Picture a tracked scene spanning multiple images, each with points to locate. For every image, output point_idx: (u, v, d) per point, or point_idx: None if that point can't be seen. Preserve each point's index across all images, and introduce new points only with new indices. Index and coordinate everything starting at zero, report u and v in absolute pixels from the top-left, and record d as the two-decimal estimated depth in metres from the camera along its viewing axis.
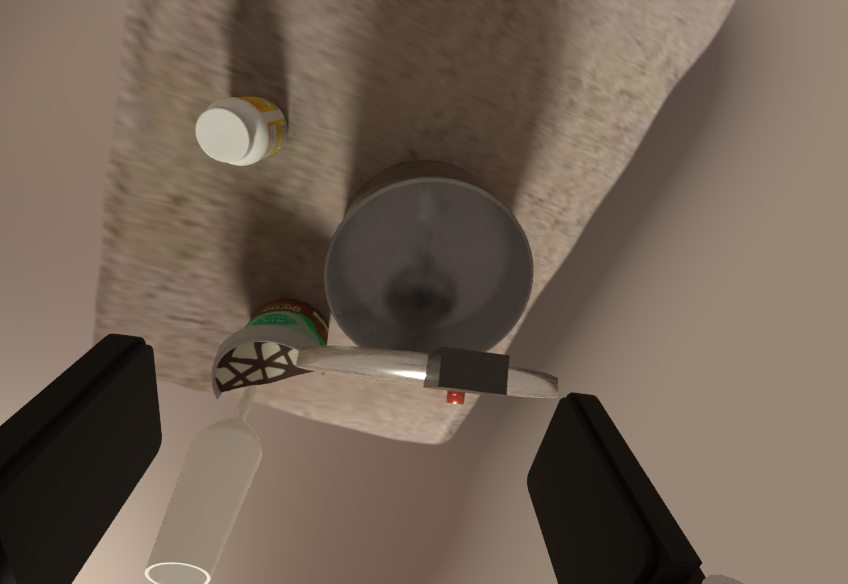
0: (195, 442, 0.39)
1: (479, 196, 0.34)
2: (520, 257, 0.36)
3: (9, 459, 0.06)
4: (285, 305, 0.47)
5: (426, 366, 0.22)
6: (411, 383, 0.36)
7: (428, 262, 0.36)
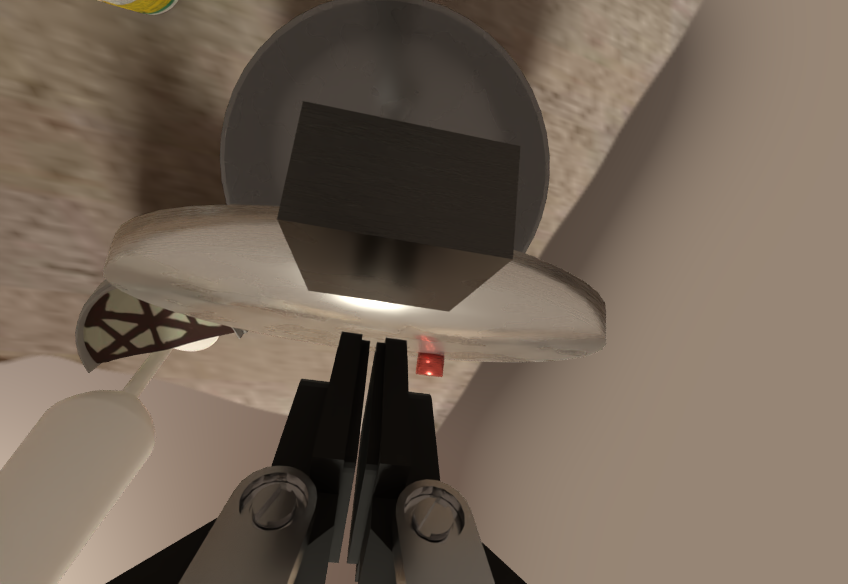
0: (41, 419, 0.25)
1: (463, 29, 0.20)
2: (530, 144, 0.23)
3: (349, 427, 0.07)
4: None
5: None
6: None
7: None
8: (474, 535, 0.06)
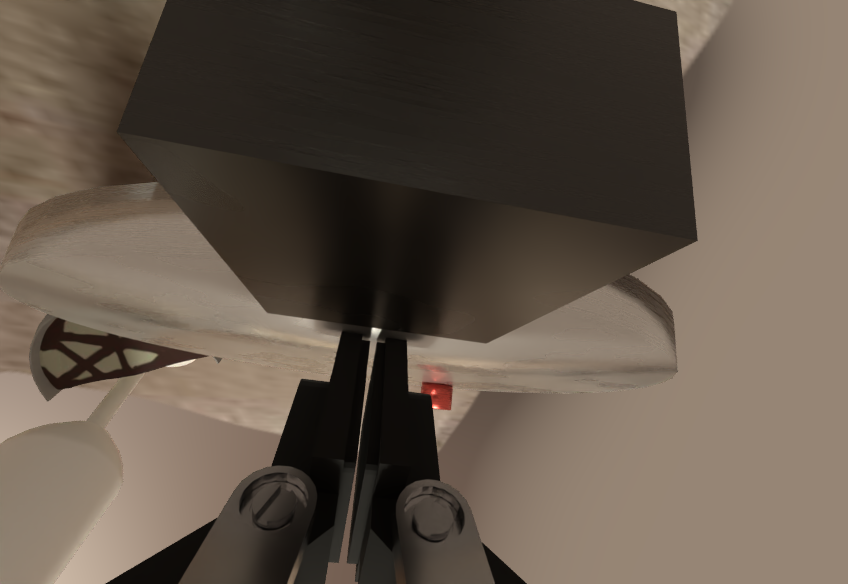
0: None
1: None
2: None
3: (349, 427, 0.07)
4: None
5: None
6: None
7: None
8: (474, 535, 0.06)
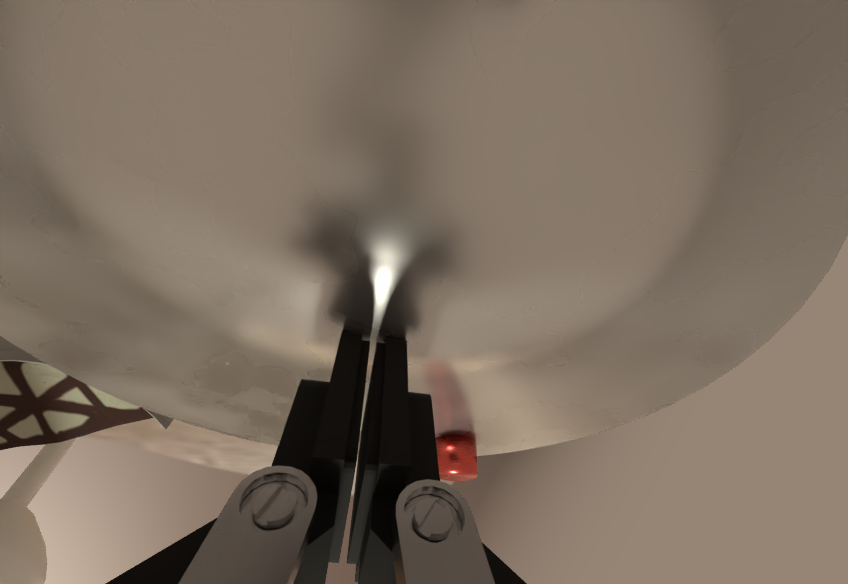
0: None
1: None
2: None
3: (348, 426, 0.07)
4: None
5: None
6: None
7: None
8: (474, 535, 0.06)
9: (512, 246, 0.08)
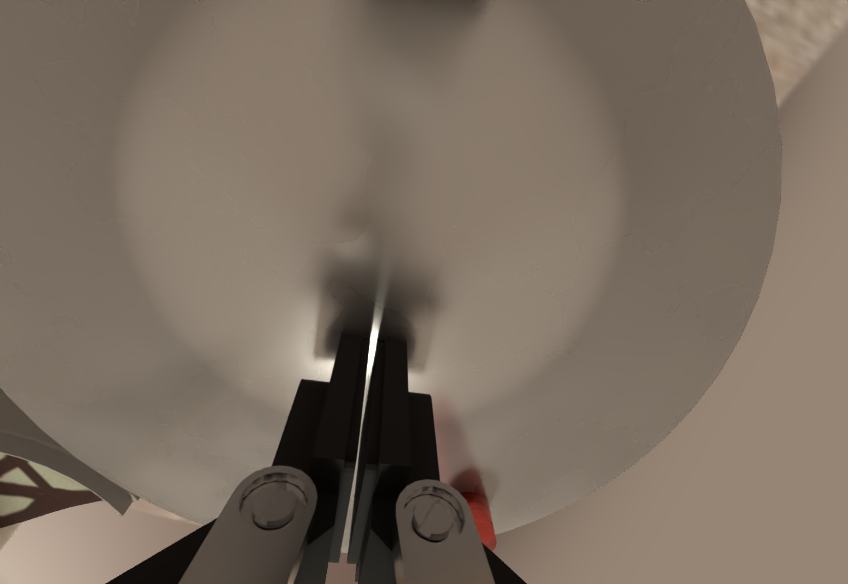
0: None
1: None
2: None
3: (348, 427, 0.07)
4: None
5: None
6: None
7: None
8: (474, 535, 0.06)
9: (508, 184, 0.09)
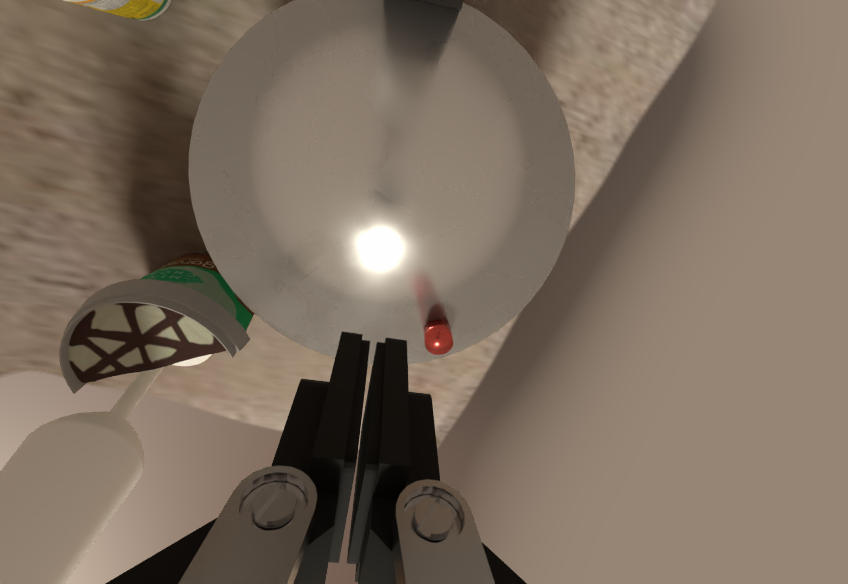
0: (23, 444, 0.24)
1: None
2: None
3: (348, 426, 0.07)
4: (193, 260, 0.33)
5: None
6: (366, 291, 0.23)
7: None
8: (474, 535, 0.06)
9: (448, 141, 0.20)
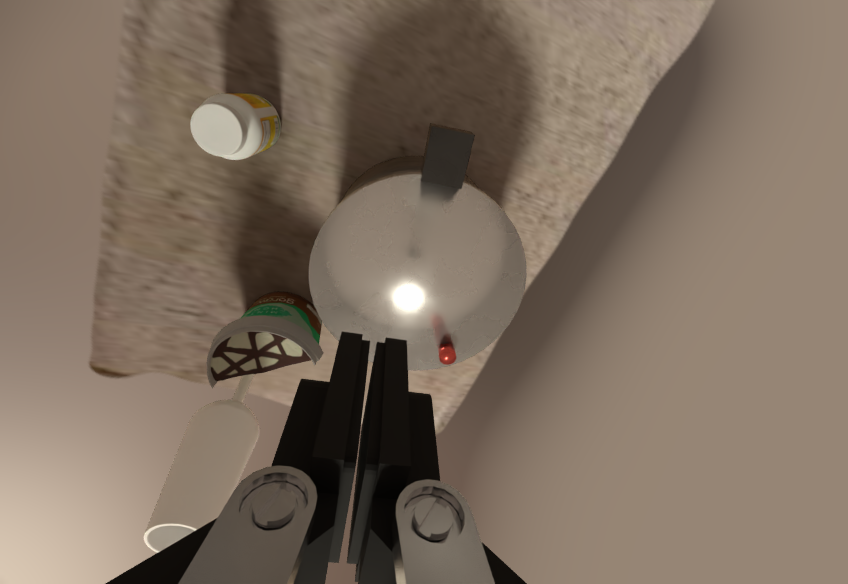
0: (195, 418, 0.40)
1: None
2: None
3: (348, 426, 0.07)
4: (279, 297, 0.48)
5: (421, 173, 0.33)
6: (404, 327, 0.39)
7: None
8: (474, 535, 0.06)
9: (454, 247, 0.35)
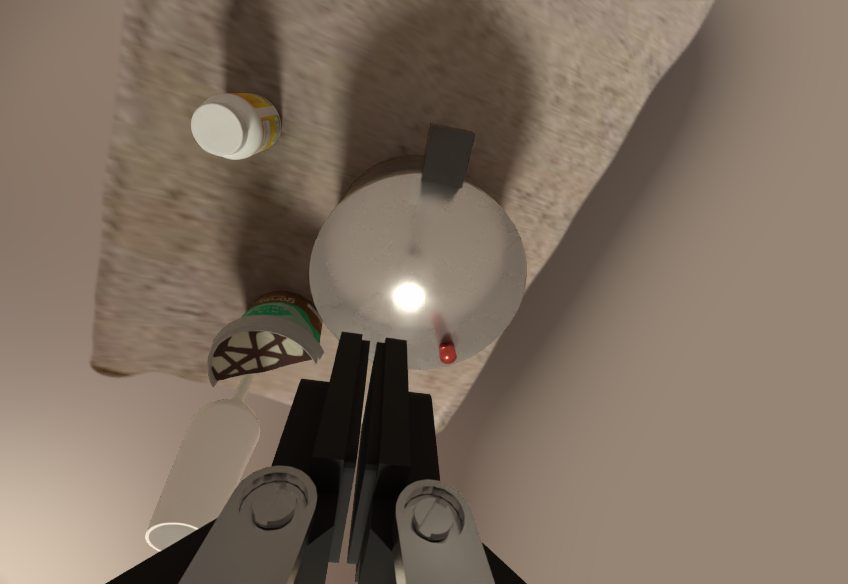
0: (196, 417, 0.40)
1: None
2: None
3: (348, 427, 0.07)
4: (280, 297, 0.49)
5: (421, 172, 0.33)
6: (405, 326, 0.39)
7: None
8: (474, 535, 0.06)
9: (454, 247, 0.35)
